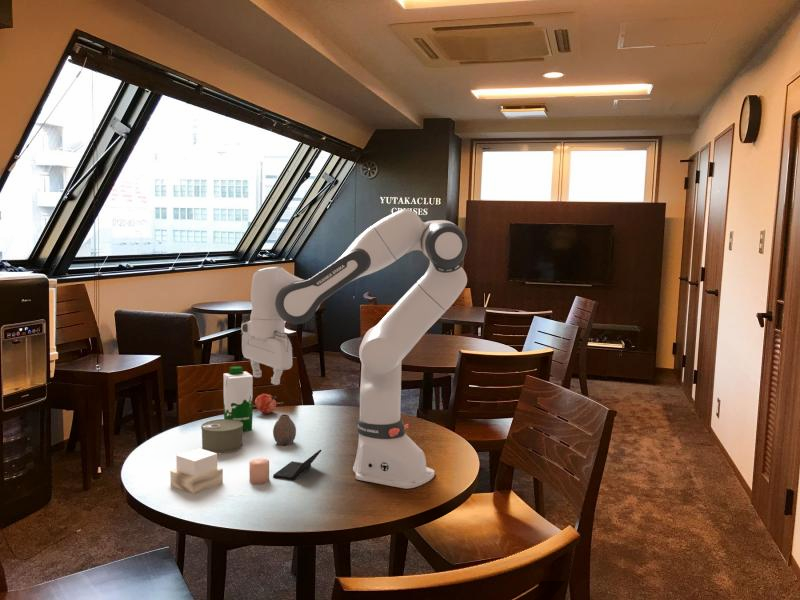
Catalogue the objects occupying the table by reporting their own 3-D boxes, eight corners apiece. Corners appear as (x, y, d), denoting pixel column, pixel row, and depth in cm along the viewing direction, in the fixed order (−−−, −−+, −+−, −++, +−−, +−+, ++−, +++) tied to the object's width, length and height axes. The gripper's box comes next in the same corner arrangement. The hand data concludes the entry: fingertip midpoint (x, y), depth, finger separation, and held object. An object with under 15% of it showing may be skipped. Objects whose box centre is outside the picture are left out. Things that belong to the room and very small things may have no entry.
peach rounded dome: (273, 479, 164) (273, 461, 163) (258, 486, 160) (258, 466, 159) (260, 475, 167) (259, 457, 166) (245, 481, 162) (245, 462, 162)
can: (245, 451, 185) (245, 428, 184) (202, 455, 181) (202, 432, 180) (241, 439, 196) (240, 417, 195) (200, 442, 192) (200, 420, 191)
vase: (298, 440, 196) (298, 412, 195) (292, 447, 189) (292, 418, 188) (276, 439, 196) (276, 411, 196) (270, 446, 190) (270, 417, 189)
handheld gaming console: (284, 458, 175) (304, 433, 173) (304, 473, 176) (324, 449, 173) (269, 479, 164) (291, 453, 162) (291, 496, 165) (313, 470, 162)
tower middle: (217, 468, 161) (217, 453, 161) (194, 477, 155) (194, 461, 155) (199, 462, 165) (199, 448, 164) (176, 470, 159) (176, 455, 159)
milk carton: (247, 423, 212) (247, 364, 210) (255, 430, 204) (255, 369, 202) (221, 426, 208) (220, 367, 206) (228, 434, 200) (228, 372, 198)
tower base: (222, 483, 161) (222, 468, 161) (193, 495, 154) (193, 479, 154) (200, 475, 167) (200, 461, 166) (170, 486, 159) (170, 471, 159)
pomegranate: (253, 422, 221) (273, 407, 218) (243, 404, 223) (263, 389, 220) (265, 418, 228) (285, 404, 225) (256, 401, 230) (275, 387, 227)
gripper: (299, 333, 159) (297, 387, 161) (258, 322, 174) (257, 371, 176) (277, 335, 155) (276, 390, 156) (238, 324, 170) (237, 374, 171)
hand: (266, 380), depth 166 cm, fingers open, 8 cm apart
